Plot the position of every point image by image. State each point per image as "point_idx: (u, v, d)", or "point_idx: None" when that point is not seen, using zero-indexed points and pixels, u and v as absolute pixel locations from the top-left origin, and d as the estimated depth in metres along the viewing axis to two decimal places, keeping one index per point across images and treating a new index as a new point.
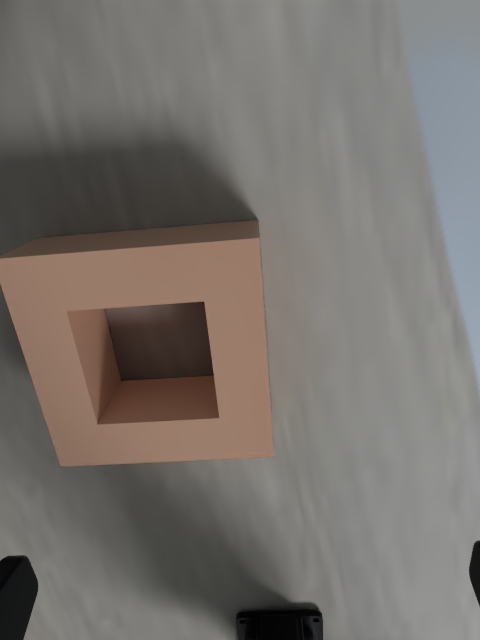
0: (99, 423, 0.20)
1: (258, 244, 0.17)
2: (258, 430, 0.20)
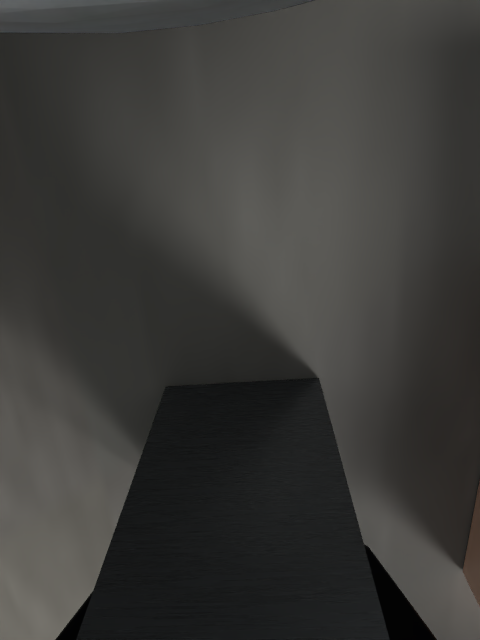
0: None
1: None
2: None
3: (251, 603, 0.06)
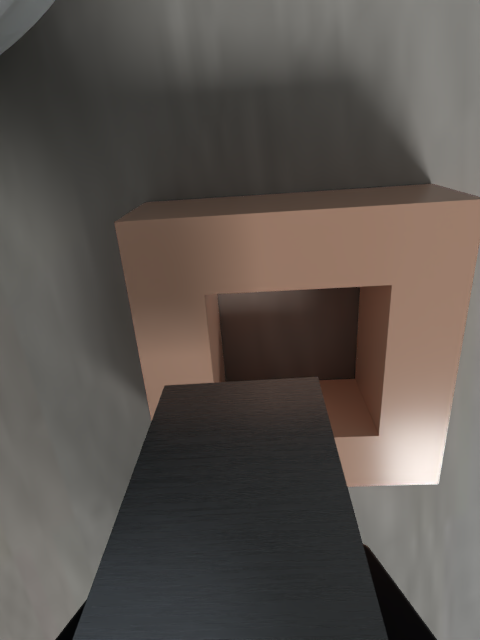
0: None
1: None
2: (425, 451, 0.16)
3: (248, 601, 0.06)
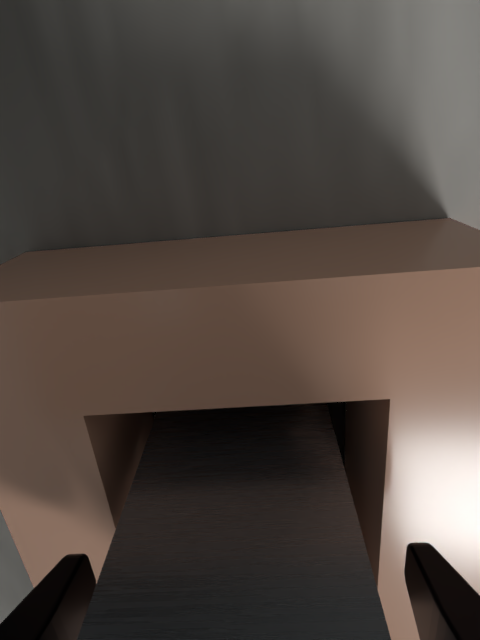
0: None
1: None
2: None
3: (251, 513, 0.07)
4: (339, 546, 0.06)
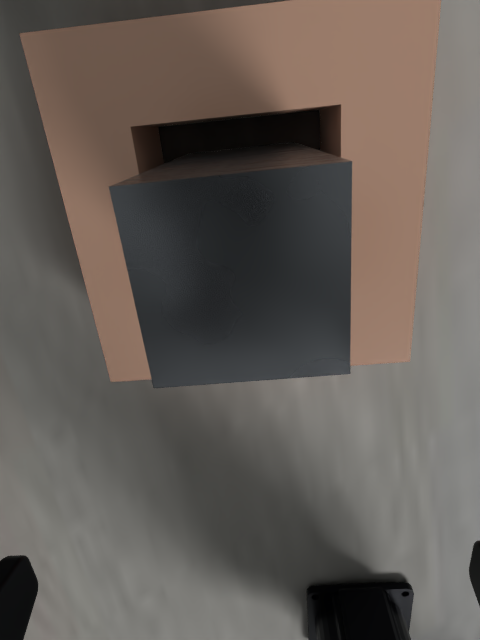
0: None
1: None
2: (393, 320, 0.14)
3: (247, 156, 0.11)
4: (302, 152, 0.10)
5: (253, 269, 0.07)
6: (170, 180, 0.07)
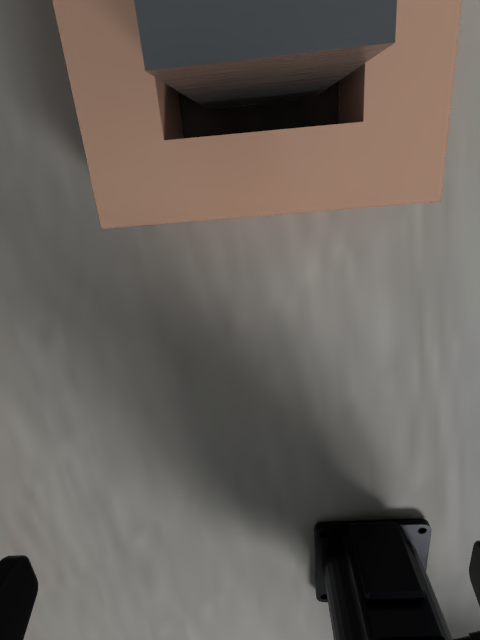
0: (167, 139, 0.13)
1: None
2: (423, 145, 0.13)
3: None
4: None
5: None
6: None
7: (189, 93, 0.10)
